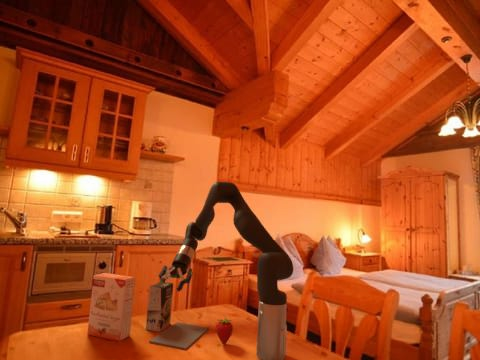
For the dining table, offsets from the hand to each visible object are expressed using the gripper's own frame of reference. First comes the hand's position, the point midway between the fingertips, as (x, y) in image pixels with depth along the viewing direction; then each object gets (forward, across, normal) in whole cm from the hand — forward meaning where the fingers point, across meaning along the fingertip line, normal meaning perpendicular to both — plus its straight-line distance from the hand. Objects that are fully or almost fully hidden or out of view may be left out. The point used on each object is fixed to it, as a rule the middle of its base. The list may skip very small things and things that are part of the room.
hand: (168, 289), depth 125 cm
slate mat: (+16, +12, +2) cm, 20 cm away
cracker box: (+24, -11, -6) cm, 27 cm away
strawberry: (+17, +29, +2) cm, 34 cm away
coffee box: (+14, 0, +5) cm, 14 cm away
